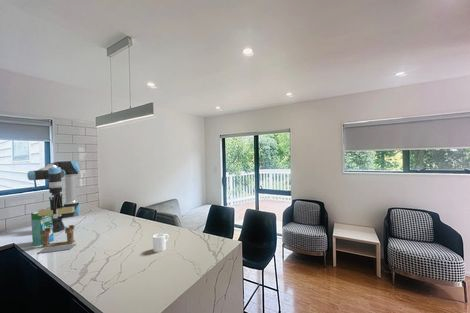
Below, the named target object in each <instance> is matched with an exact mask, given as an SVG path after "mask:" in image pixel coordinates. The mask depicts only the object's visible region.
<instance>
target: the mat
mask: <svg viewBox="0 0 470 313" xmlns="http://www.w3.org/2000/svg"><path fill="white" fill-rule="evenodd" d="M76 245H77V244H76V243H73V244H68V245H60V246H53V247H45V248H42V249H41V250H39V251H38V252H37V253H36V254H37V255H40V253H42V254H47V253H48V254H49V253H56V252H62V251H70V250H71V249H73V248H74V247H75V246H76Z"/></svg>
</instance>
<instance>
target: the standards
mask: <svg viewBox="0 0 470 313" xmlns="http://www.w3.org/2000/svg"><path fill="white" fill-rule="evenodd" d="M74 231H75V225H74V224H73V225H72V224H70V225H68V227H65V229H64V233H65V234H66V241H60V242H50V241H49V233H51V229H50V228H45V230H42V231H40V236H42V244H43V245H40V248H41V249H44V248H49V247H57V246H64V245H72V244H75V242H76V240H74Z"/></svg>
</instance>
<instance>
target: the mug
mask: <svg viewBox="0 0 470 313" xmlns="http://www.w3.org/2000/svg"><path fill="white" fill-rule="evenodd" d="M169 237H170V235H169V234H168V233H161V232H160V233H156V234H153V236H152V251H153V252H154V253H160V252H164V251H165V250H166V249H167V245H166V242H167V241H168V240H169Z"/></svg>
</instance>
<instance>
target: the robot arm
mask: <svg viewBox="0 0 470 313" xmlns="http://www.w3.org/2000/svg"><path fill="white" fill-rule="evenodd" d="M79 164H80V163H79V162H78V161H76V160H66V161H54V162H52V163H49V164H46V165H45V166H44V167H41V168H39V169H37V170H29V171H28V172H27V179H28V180H29V181H41V180H48V187H49V189H48V190H49V194H51V196H50V197H49V198H48V199H49V204H50V206H48V207H46V208H45V209H51V210H53V215H52V217H53V234H54V233H57V232H61V231H65V228H66V226H65V224H64V222H63V219H68V218H74V217H79V216H80V214H81V211H82V204H81V203H80V202H79V201H78V193H77V176H78V175H79V173H81V169H80V168H81V167H80V165H79ZM63 178H64V183H65V184H64V185H65V186H64V187H65V191H64V192H65V202H64V203H63V193H62V192H63V187H62V186H63V183H62V179H63ZM63 207H75V212H73V213H64V214H58V210H57V208H63Z"/></svg>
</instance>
